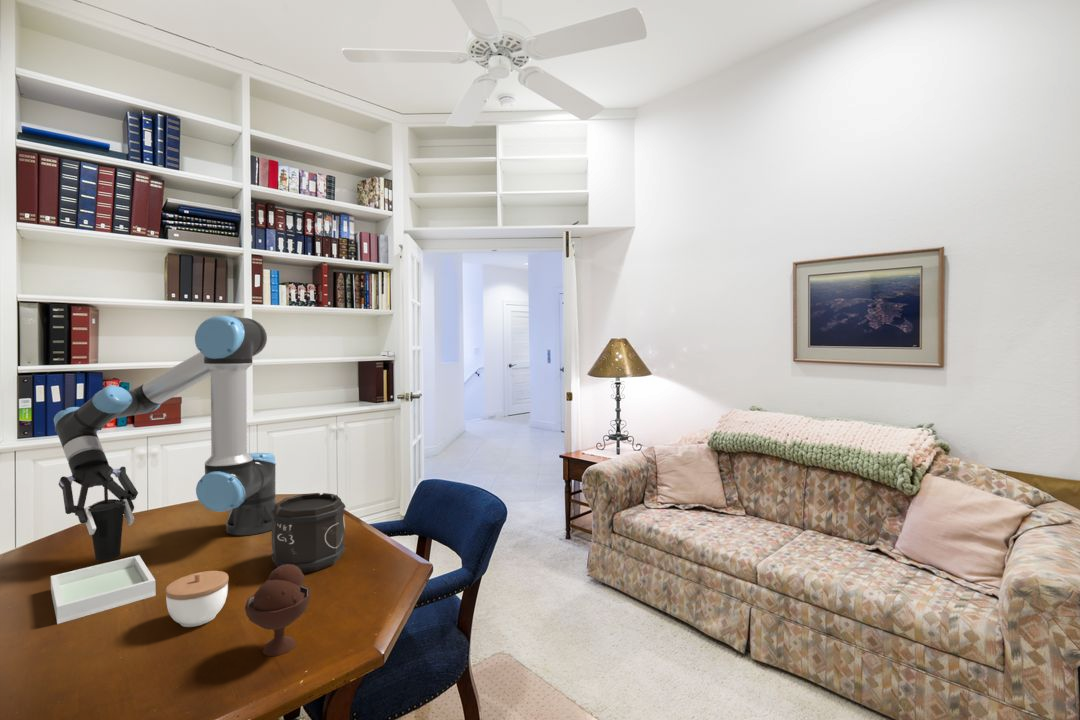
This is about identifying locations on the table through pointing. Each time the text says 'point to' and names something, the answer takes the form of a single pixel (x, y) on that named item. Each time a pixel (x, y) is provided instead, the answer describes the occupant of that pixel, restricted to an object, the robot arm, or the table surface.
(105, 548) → the drinking cup
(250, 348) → the robot arm
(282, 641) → the ice cream bowl
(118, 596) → the tray
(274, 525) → the labeled octagonal canister
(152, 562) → the table surface
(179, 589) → the lidded jar
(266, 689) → the table surface
